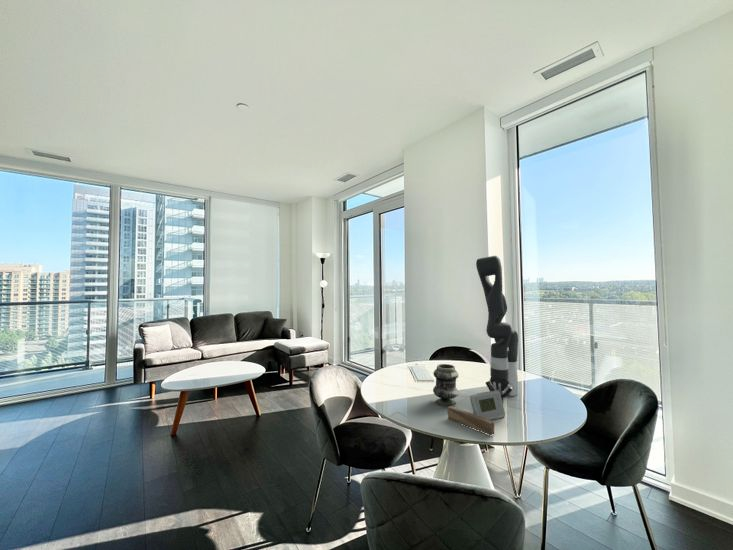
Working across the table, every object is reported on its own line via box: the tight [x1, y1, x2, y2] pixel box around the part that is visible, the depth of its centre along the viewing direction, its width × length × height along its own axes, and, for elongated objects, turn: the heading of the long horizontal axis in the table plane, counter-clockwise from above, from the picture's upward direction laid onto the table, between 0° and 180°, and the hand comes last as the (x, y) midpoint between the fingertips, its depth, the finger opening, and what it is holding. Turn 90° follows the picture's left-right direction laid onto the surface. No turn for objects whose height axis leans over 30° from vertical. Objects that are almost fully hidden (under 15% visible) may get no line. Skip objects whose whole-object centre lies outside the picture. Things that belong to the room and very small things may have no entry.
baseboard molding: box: [407, 363, 435, 382], centre depth 207 cm, size 31×3×12 cm
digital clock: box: [469, 390, 506, 421], centre depth 142 cm, size 16×9×11 cm, turn 102°
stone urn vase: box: [432, 363, 460, 408], centre depth 159 cm, size 12×12×18 cm
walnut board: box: [447, 406, 495, 435], centre depth 134 cm, size 2×20×5 cm, turn 39°
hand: (499, 405), depth 147 cm, fingers closed
